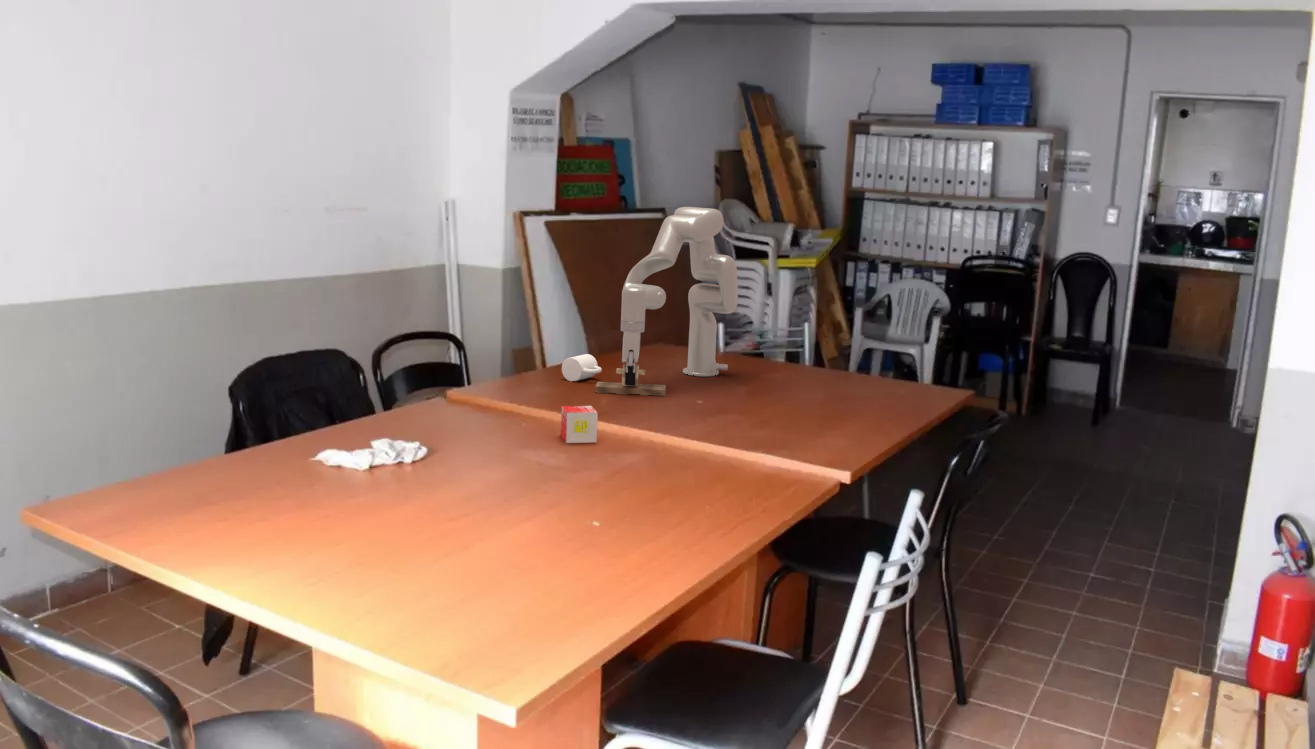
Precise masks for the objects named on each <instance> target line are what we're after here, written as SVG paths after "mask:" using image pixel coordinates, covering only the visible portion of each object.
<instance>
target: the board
mask: <svg viewBox="0 0 1315 749" xmlns="http://www.w3.org/2000/svg"><path fill="white" fill-rule="evenodd" d="M666 390H667V385H666V384H654V383H653V384H650V383H645V384H644V383H638V386H622V382H611V381H609V382H608V381H596V384H595V390H594V391H595V392H597V393H596V394H608V393H616V394H615V395H628V394H640V395H639V396H648V395H654V396H655V397H666ZM654 396H653V397H654Z"/></svg>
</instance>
